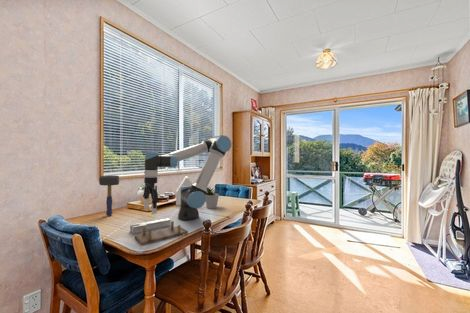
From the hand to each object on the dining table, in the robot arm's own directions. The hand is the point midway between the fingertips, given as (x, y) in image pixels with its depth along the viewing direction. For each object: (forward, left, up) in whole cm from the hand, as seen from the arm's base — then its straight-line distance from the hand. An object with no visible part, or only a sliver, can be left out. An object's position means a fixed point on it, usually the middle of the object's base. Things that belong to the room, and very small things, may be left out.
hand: (150, 211), depth 133 cm
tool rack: (-1, +16, -11) cm, 19 cm away
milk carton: (-51, -50, -11) cm, 73 cm away
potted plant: (-60, -22, -11) cm, 65 cm away
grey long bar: (-1, 0, -11) cm, 11 cm away
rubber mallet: (+14, -47, -11) cm, 51 cm away
